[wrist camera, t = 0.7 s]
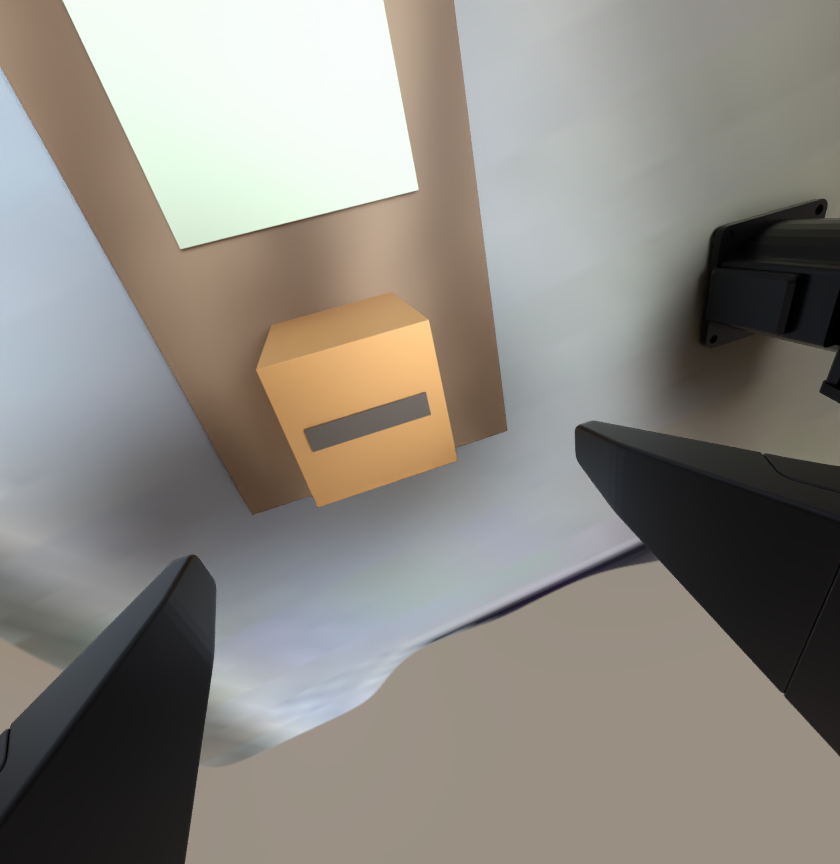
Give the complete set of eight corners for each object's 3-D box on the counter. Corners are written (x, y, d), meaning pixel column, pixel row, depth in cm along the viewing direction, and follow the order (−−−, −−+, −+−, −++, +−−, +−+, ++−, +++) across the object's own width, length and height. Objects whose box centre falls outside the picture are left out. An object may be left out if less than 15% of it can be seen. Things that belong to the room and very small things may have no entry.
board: (414, -210, 12) (423, -243, 11) (499, 423, 23) (507, 430, 22) (-100, -144, 10) (-137, -177, 10) (254, 503, 21) (252, 515, 20)
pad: (346, -174, 11) (348, -187, 11) (416, 190, 16) (418, 189, 15) (6, -128, 10) (-4, -141, 10) (183, 248, 15) (180, 249, 14)
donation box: (391, 291, 17) (430, 321, 12) (417, 399, 20) (459, 462, 14) (271, 325, 17) (255, 371, 11) (314, 431, 19) (317, 510, 14)
